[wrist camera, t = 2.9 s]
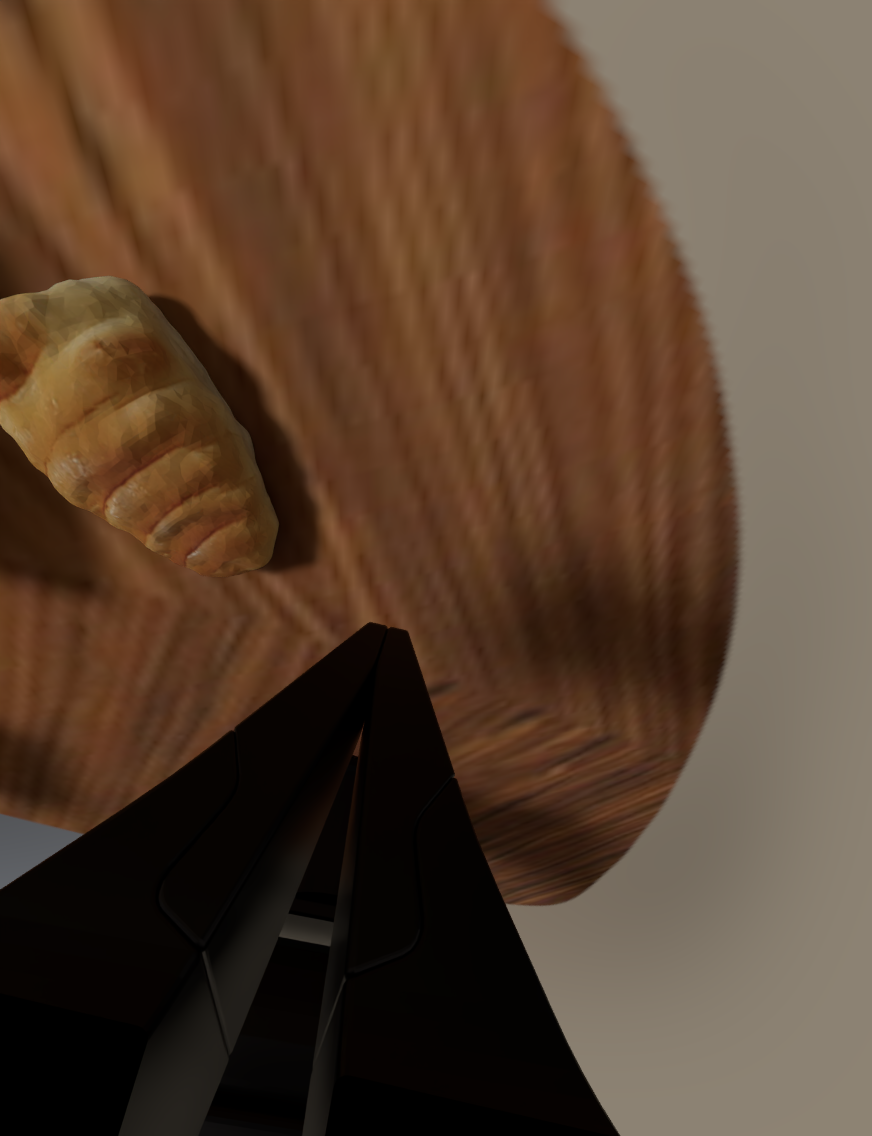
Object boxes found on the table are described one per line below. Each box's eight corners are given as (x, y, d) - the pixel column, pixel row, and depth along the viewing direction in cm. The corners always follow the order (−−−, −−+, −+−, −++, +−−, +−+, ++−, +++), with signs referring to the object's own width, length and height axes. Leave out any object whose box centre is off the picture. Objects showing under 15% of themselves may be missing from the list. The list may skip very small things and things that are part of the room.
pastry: (333, 518, 14) (292, 562, 11) (220, 585, 16) (156, 639, 13) (143, 262, 11) (-5, 210, 7) (29, 388, 13) (-127, 392, 9)
